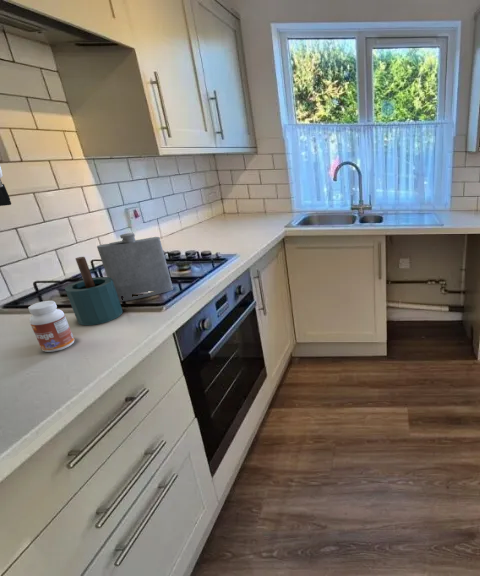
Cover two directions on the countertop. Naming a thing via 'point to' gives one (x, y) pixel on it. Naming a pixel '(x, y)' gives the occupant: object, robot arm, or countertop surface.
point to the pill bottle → (50, 326)
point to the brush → (85, 272)
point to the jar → (94, 301)
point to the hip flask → (136, 266)
